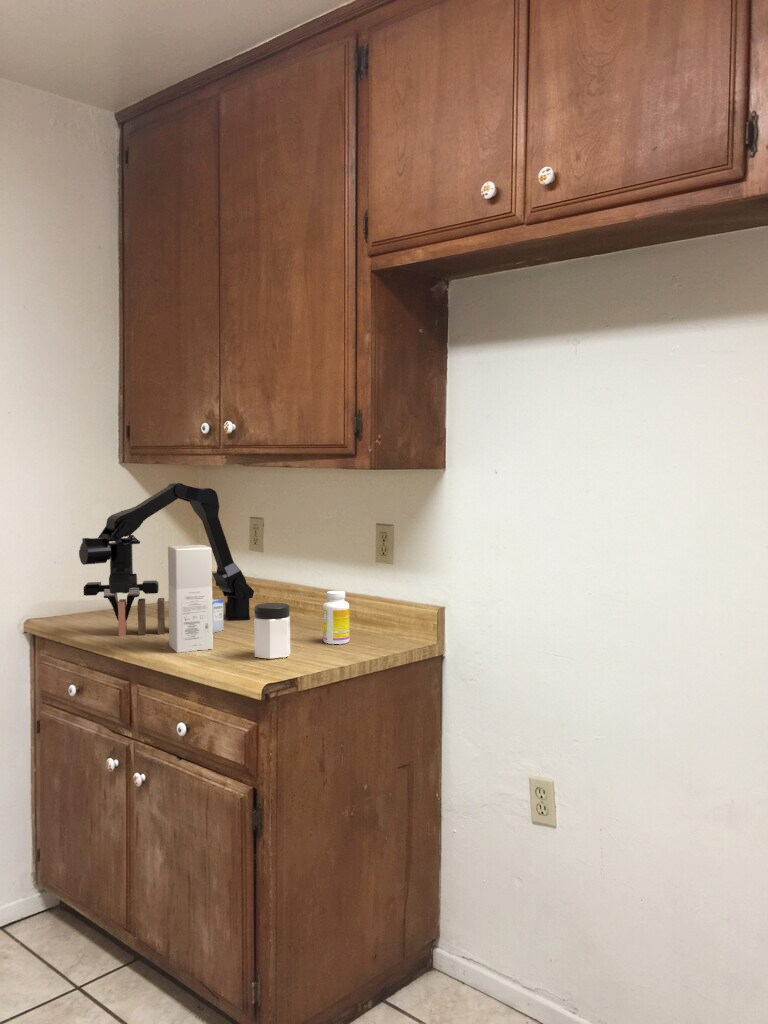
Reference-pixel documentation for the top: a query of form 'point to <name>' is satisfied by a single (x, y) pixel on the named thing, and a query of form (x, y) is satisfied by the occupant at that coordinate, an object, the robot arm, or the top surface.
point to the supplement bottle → (336, 618)
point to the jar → (272, 630)
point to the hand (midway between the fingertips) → (122, 620)
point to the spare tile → (122, 617)
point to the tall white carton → (190, 598)
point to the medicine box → (217, 615)
